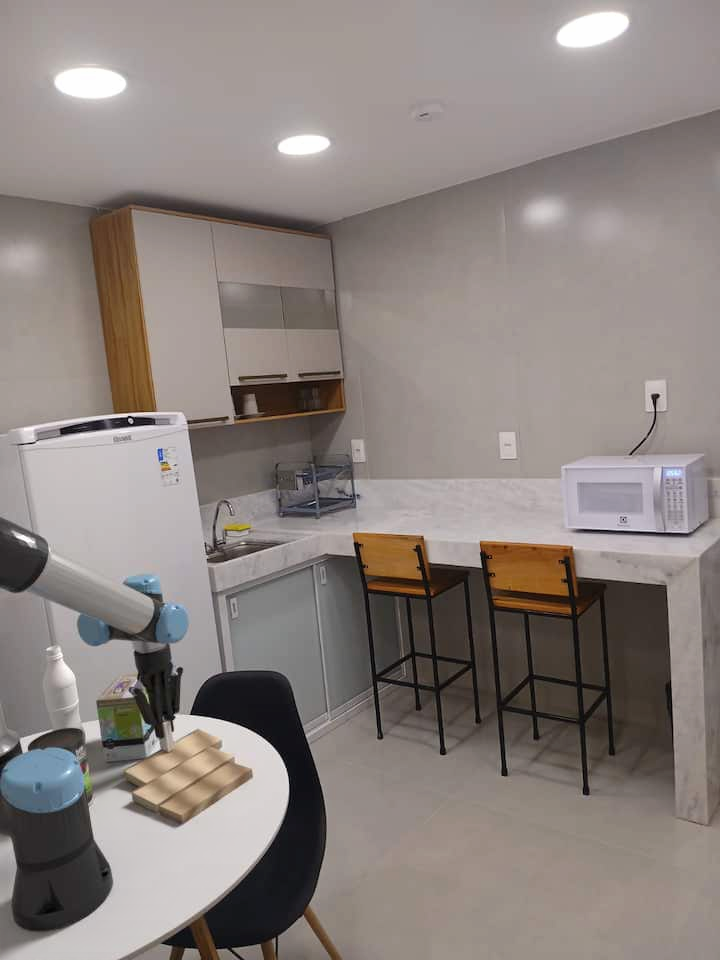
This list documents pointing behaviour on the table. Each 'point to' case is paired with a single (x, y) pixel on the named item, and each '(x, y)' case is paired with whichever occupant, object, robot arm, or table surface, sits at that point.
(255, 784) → the table surface
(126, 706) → the tea box
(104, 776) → the table surface
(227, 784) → the laid board
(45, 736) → the coffee can
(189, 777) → the plank
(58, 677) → the water bottle
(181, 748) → the plank
